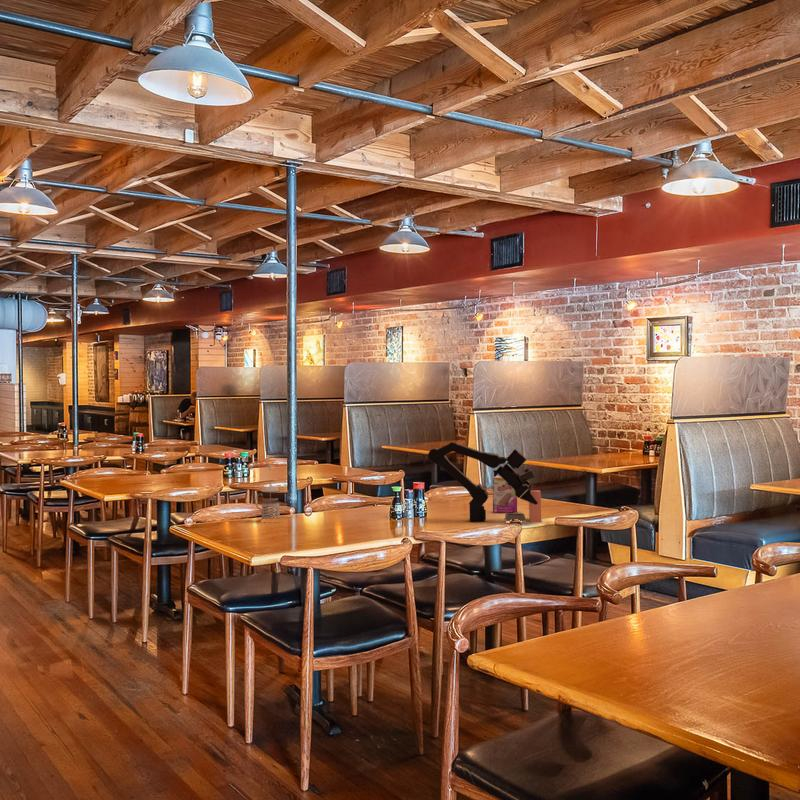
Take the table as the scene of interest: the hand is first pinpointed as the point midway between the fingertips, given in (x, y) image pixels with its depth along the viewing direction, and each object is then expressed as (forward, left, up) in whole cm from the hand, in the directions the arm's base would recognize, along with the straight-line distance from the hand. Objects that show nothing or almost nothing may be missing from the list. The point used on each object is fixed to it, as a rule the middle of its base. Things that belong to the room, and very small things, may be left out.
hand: (537, 502), depth 353 cm
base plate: (-9, 0, -8) cm, 12 cm away
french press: (-117, +10, -8) cm, 118 cm away
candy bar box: (-11, +28, -8) cm, 31 cm away
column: (-1, 0, -8) cm, 8 cm away
